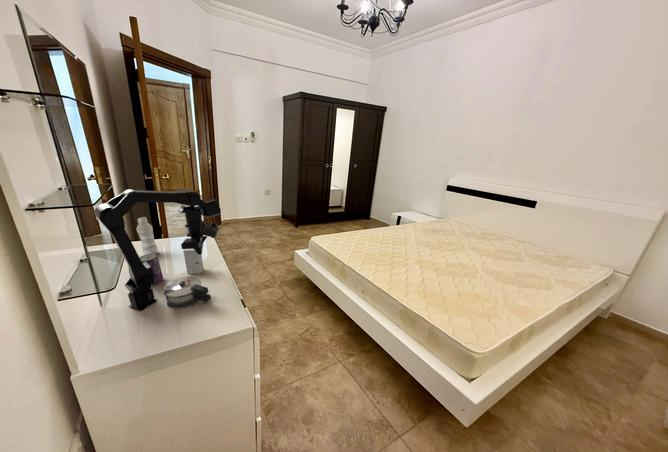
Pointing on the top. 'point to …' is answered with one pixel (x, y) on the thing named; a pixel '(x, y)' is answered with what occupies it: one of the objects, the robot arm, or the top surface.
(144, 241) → the plastic bottle
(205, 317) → the top surface
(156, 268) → the beverage can
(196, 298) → the pot
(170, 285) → the lid
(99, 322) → the top surface
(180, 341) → the top surface
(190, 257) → the skincare box
